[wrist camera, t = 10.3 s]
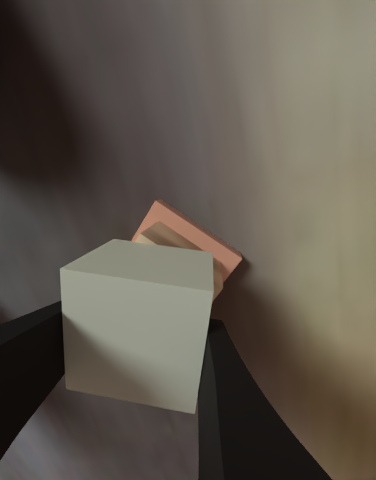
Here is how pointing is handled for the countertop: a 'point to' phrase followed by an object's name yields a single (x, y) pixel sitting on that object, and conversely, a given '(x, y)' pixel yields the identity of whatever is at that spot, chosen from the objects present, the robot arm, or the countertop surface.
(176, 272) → the sage block
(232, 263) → the plinth
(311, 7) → the countertop surface
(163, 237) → the maple block
